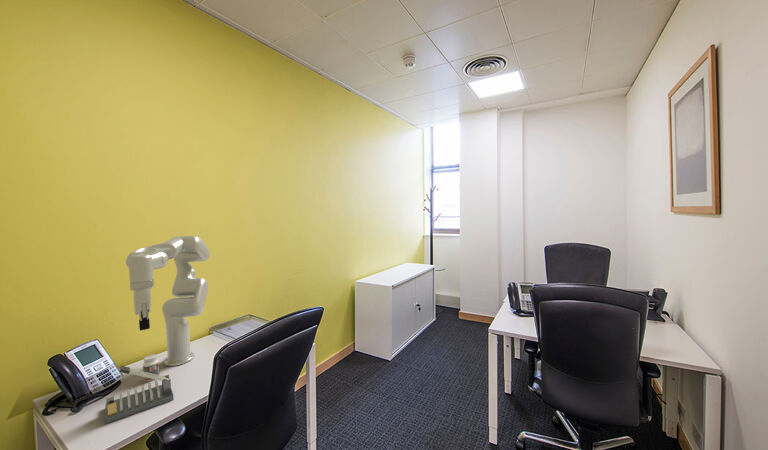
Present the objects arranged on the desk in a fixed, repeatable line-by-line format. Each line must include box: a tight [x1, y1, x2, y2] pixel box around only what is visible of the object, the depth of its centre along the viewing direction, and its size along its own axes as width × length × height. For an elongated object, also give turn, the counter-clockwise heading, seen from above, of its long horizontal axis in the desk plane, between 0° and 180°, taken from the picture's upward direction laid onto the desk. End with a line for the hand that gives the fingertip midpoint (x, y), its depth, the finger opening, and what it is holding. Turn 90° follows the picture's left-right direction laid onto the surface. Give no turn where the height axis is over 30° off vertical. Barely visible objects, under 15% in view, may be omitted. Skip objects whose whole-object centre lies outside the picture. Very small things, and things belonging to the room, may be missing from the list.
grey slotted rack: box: [104, 374, 174, 425], centre depth 117 cm, size 12×20×7 cm, turn 132°
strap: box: [118, 365, 170, 382], centre depth 118 cm, size 18×4×1 cm
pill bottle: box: [142, 353, 160, 382], centre depth 135 cm, size 6×6×10 cm
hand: (144, 328), depth 123 cm, fingers closed
